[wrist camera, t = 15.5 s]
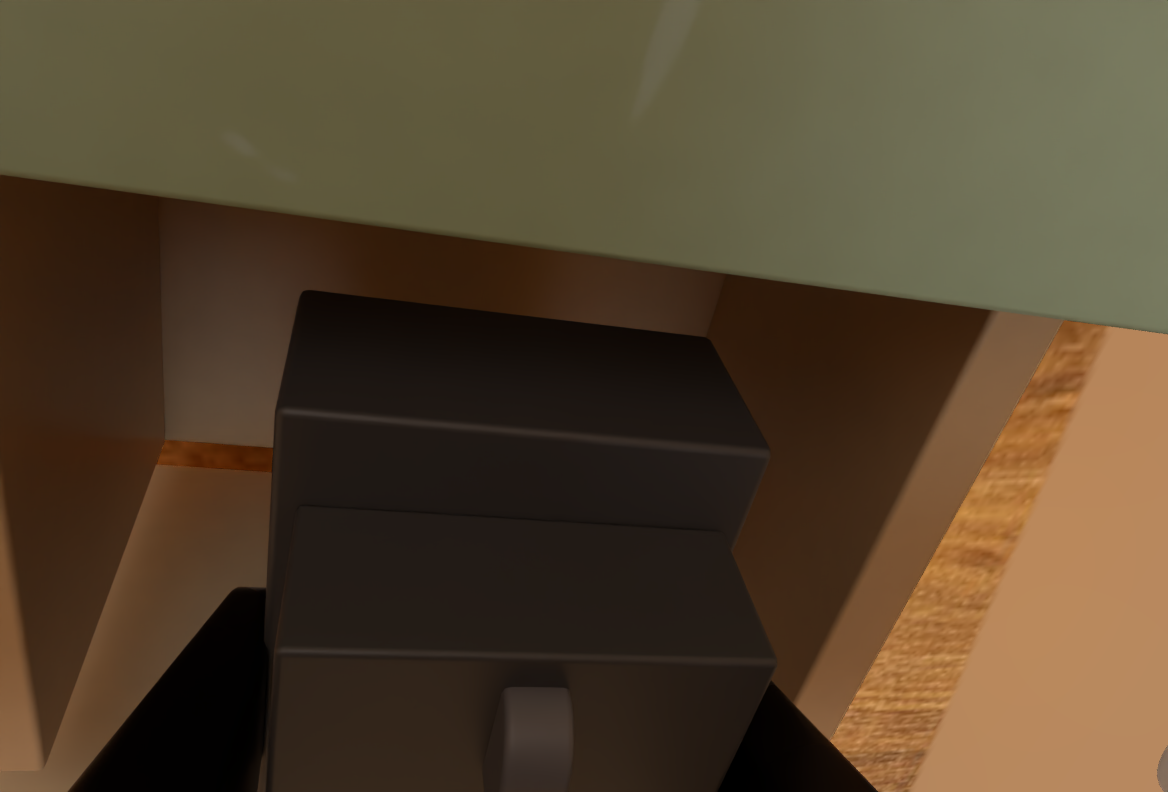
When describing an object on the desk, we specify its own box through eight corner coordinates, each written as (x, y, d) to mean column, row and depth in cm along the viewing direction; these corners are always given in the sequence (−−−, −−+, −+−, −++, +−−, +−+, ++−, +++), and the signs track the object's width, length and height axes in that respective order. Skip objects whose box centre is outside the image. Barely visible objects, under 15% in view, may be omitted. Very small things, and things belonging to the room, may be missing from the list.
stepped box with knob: (712, 333, 9) (881, 642, 6) (576, 741, 13) (637, 1085, 9) (300, 284, 8) (228, 622, 5) (272, 742, 12) (217, 1126, 8)
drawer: (627, 699, 22) (710, 1042, 16) (107, 694, 19) (-29, 1110, 13) (950, -199, 12) (1462, -185, 6) (10, -479, 10) (-660, -925, 4)
